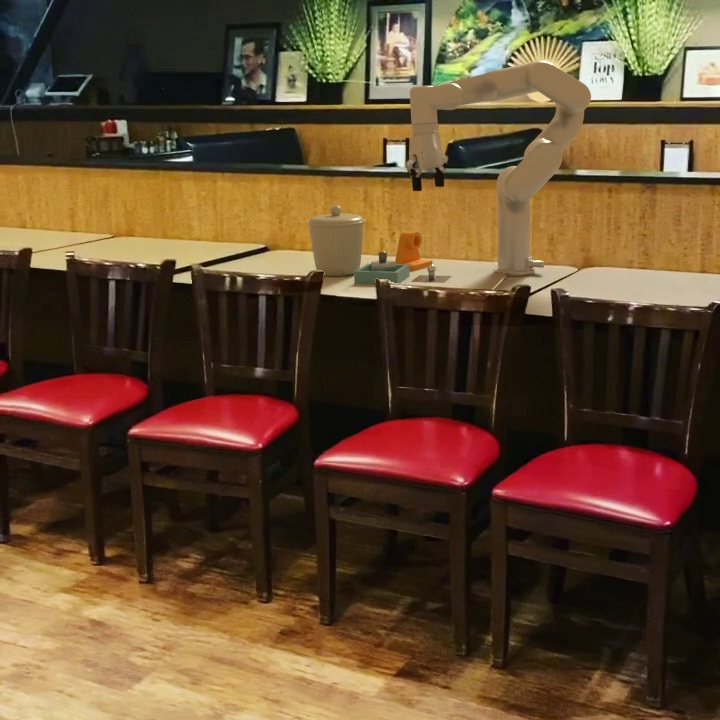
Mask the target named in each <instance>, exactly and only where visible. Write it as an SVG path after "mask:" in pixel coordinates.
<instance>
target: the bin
mask: <svg viewBox="0 0 720 720" xmlns="http://www.w3.org/2000/svg"><path fill="white" fill-rule="evenodd" d="M410 273H411V272H410V270H409V265H407V264H395V272H385V271H371V263H366V264H364V265H363V266H360V268H359V269H358V270H356V271H354V274H353V277H354V285H358V284H359V285H376V284H375V279H376V278H378V279H388V280H390V281H391V282H394V283H400V284H401V283H403V282H404V281H405V280H407V279H408V278H409V277H410V275H411V274H410Z"/></svg>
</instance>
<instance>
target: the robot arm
mask: <svg viewBox="0 0 720 720" xmlns="http://www.w3.org/2000/svg"><path fill="white" fill-rule="evenodd" d="M533 93H540V94H541V95H542V96H544V97H545V98H547V99H549V100H551V101H552V102H554V103H555V113H554V116H553V118H552V119H551V121H550V122H549V124H547V126H546V127H545V128H544V129H543V130H542V131H541V132H540V134H539V135H537V136H536V138H535V139H534V140H532V141H531V142H530V144H528V146H527V147H526V149H525V150H524V153H523V159H522V160H521V161H520V162H519V163H518V164H517V166H516V165H511V166H508V167H505V168H504V169H503V170H502V171H501V172H500V173H499V175H498V177H497V180H496V198H497V266H495V267H493V268H492V271H493V272H495V273H501V274H504V276H508V277H513V276H514V277H515V276H516V277H517V276H520V277H521V276H527V275H532V274H534V273H535V272H536V269H535V268H542V269H543V268H545V261H543V260H534V259H533V256H532V255H531V254H530V253H531V251H530V250H531V245H530V242H531V240H530V239H531V202H530V199H531V198H533V197H534V196H535V195H536V194H537V193H538V192H539V190H541V189H542V188H543V186H545V184H546V183H547V182H548V181H549V180H550V179H551V178H552V177H554V175H555V174H556V173H557V172H558V170H559V168H560V167H561V165H562V164H563V153H564V151H566V149H567V148H568V147H569V146H570V144H571V143H572V142H573V141H574V140H575V139H576V137H577V136H578V135H579V133H580V130H581V129H582V127H583V122H584V117H585V110H586V109H587V108H588V107H589V106H590V104H591V101H592V93H591V91H590V88H589V87H588V86H587V85H586V84H585V83H584V82H582V81H580V80H579V79H577V78H575V77H574V76H572V75H571V74H569V73H568V72H566V71H564V70H562V69H561V68H560V67H558V66H556V65H555V64H553V63H552V62H549V61H548V60H547V61H546V60H536V61H531V62H527V63H522V64H518V65H513V66H509V67H504V68H499V69H496V70H491V71H488V72H485V73H481V74H478V75H475V76H470V77H464V78H462V79H461V78H460V79H457V80H453V81H447V82H444V83H441V84H439V85H434V86H433V85H418V86H413V87H411V88H410V89H409V103H410V116H411V117H410V119H411V133H412V135H410V137H409V152H408V154H409V155H408V156H409V157H408V158H409V159H408V160H407V161H406V162H405V163H404V165H405V168H406V170H407V174H408V175H409V176H410V178H411V184H412V191H413V192H422V190H423V183H422V177H420V176H421V175H422V171H424V170H431V169H433V170H434V171H435V172H434V175H433V176H434V187H436V188H438V187H439V188H443V187H445V178H444V177H445V174H444V173H445V172H446V168H447V166H448V164H447V163H448V161H449V157H448V155H446V154H444V153H443V148H442V140H441V137H440V134H439V133H440V132H439V123H438V110H441V111H443V110H445V111H453V110H456V109H457V108H459V107H460V106H466V105H470V104H474V103H475V104H476V103H482V102H497V101H502V100H503V101H504V100H506V99H510V98H515V97H519V96H523V95H528V94H533ZM530 255H531V256H530Z"/></svg>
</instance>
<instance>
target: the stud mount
mask: <svg viewBox="0 0 720 720" xmlns="http://www.w3.org/2000/svg"><path fill="white" fill-rule="evenodd" d="M426 268H427V269H426V270H427V273H428V275H427V274H420V275H418V276H416V277H415V278H414V279H412V280H411V281H410V282H411V283H413V282H414V283H439V284H440V283H441V284H442V283H443V284H444V283H446V282H447V281H448V280H450V279H451V278H452V277H453V275H436V273H435V272H436V270H437V268H436V265H435V264H433V265H429V266H428V267H426Z"/></svg>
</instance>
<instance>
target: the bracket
mask: <svg viewBox="0 0 720 720" xmlns="http://www.w3.org/2000/svg"><path fill="white" fill-rule="evenodd" d="M422 241H423V240H422V235H421V234H420V232H417V231H405V230H404V231H402V232H401V234H400V235H399V239H398V243H397V251H396V253H395V264H407V265H409V271H411V272H414V271H418V270H421V269H422V270H423V269H426V268H428V266H429V265H434V264H433V260H432V259H423V258H421V255H420V253H419V249H420V248H421V245H422Z"/></svg>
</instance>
